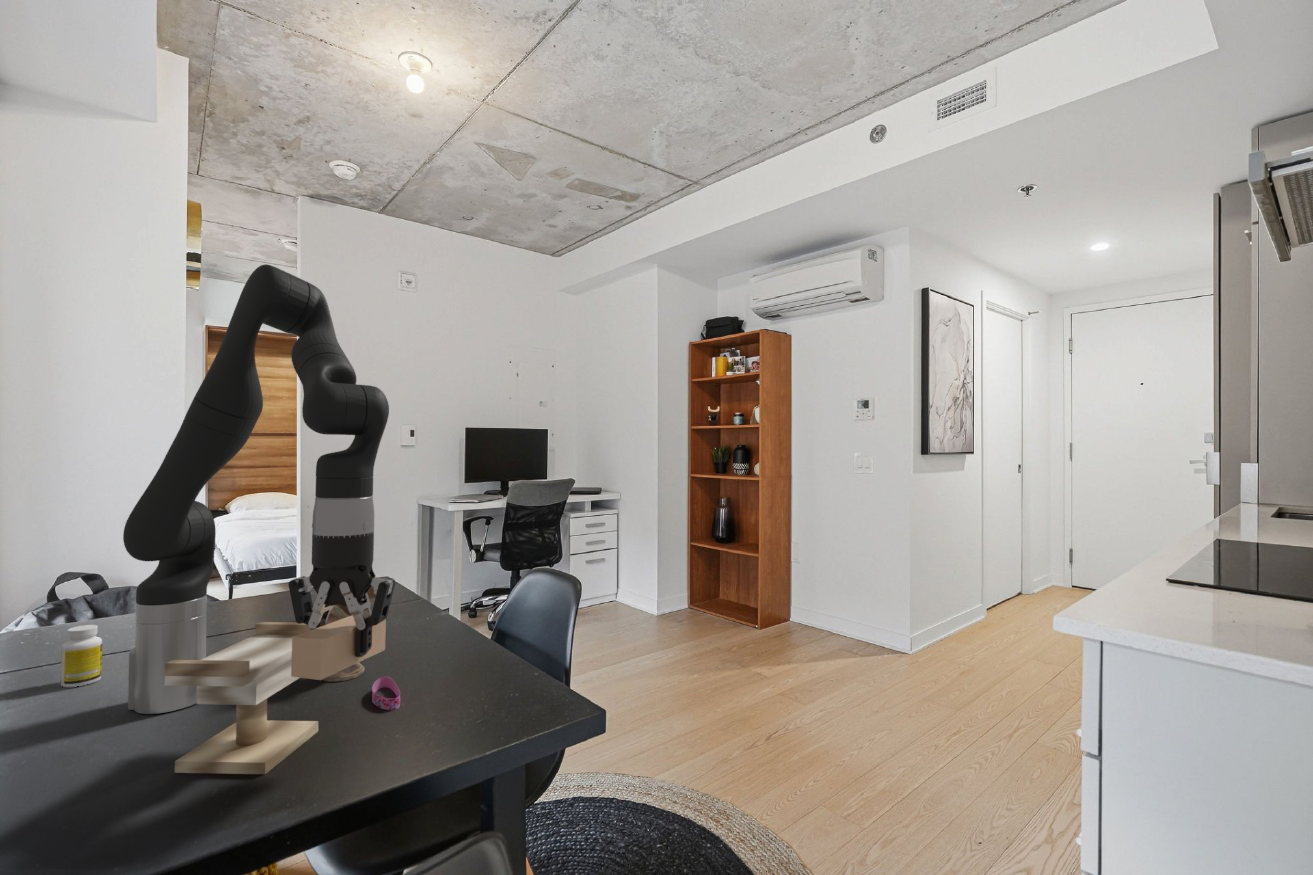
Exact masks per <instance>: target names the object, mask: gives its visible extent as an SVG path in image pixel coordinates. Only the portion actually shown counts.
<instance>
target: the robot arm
mask: <svg viewBox="0 0 1313 875" xmlns="http://www.w3.org/2000/svg"><path fill="white" fill-rule="evenodd" d="M262 325H266V326H269V327H271V328H274V329H276V330H278V331H280V332H284V333H286V334H289V335H290V334H291V335H293V336H297V337H298V339H296V341H295V342H294V344H293V346H292V349H291V362H292V366H293V368H294V371H295V374H297V377H298V379H299V381H300V383H301V385H302V392H303V401H302V410H301V413H302V419H303V422H304V423H305V425H306V426H307V427H308V428H309V429H310V430H312V431H313V432H315V433H317V434H321V435H332V436H333V435H334V436H335V435H337V436H338V435H339V436H341V435H343V436H354V437H353V440H352V442H351V443H350V445H349V446H348V447H347V448H345V449H343V450H339V451H335V452H334V451H333V452H328V453H325V454H323V455H321V456H319V457H318V458H317V461H316V465H315V498H314V506H313V510H312V525H311V528H312V529H311V530H312V531H311V536H312V537H311V566H312V567H313V568H312V571H311V573H310V574H309V575H308V576H304V575H303V576H302V575H301V576H299V577H297V578H293V579H291V580H289V582H288V589H289V594H290V600H291V604H292V610H293V614H294V615H293V616H294V620H295V622H297V623H298V624H301V623H304V624H306V625H308V626H309V627H310V629H311V630H313V629H315V628H318V627H321V626H324V625H325V623H326V621H327V619H328V617H329V614H330V612H331V610H332V608H333V607H334V606H335V605H337V604H339V605H342V606H347V607H348V610H349V613H350V614H351V615H353V617H354V620H355V623H356V626H357V628H358V629H357V630H355V657H362V656H364V655H365V654H367V652H368V651H369V650H370V649H371V646H372V627H373V626H374V625H377V624H379V623H380V622H382V621H384V620H385V619H387V618H388V614H389V609H390V606H391V602H392V599H393V598H392V597H393V594H394V590H395V586H396V580H395V578H393V577H391V578H388V579H385V578H381V577H376V573H375V572H374V570H373V565H374V564H373V563H374V545H375V544H374V543H375V506H374V496H373V495H374V467H375V463H376V459H377V454H378V452H379V448H380V444H381V441H382V437H383V435H384V432H385V429H386V426H387V423H388V419H389V413H390V405H389V401H388V399H387V397H386V394H385V393H384V391H382V389H381V388H379V387H377V386H375V385H367V384H357V373H356V371H355V369H354V367H353V365H352V363H351V362H350V360H349V359H348V357H347V355H346V354H345V352H344V350H343V349H342V347H341V346H340V343H339V341H338V339H337V335H336V332H335V328H334V322H333V320H332V316H331V311H330V308H329V304H328V300H327V299H326V296H325V295H324V293H323V292H322V290H321V289H320V288H319V287H317V286H316V285H314V284H313V283H311V282H308V281H307V280H304V279H302V278H300V277H298V276H296V275H293V274H292V273H289V272H288V271H285V270H283V269H280V268H278V267H276V266H274V265H270V264H260V265H259V266H257V268H255V269H254V271H253V272H251V274H250V275H249V277H248V278H247V281H246V282H245V283H244V286H243V288H242V290H241V293H240V296H239V297H238V300H237V303H236V305H235V308H234V310H233V313H232V315H231V318H230V321H229V323H228V326H227V329H226V331H225V334H224V336H223V339H222V342H221V344H220V347H219V348H218V350H217V353H216V355H215V356H214V358H213V361H212V363H211V365H210V367H209V369H208V370H207V372H206V374H205V377H204V378H203V381H202V382H201V384H200V386H199V388H198V390H197V391H196V393H195V395H194V397H193V399H192V400H191V403H190V405H189V407H188V409H187V411H186V413H185V416H184V419H183V421H182V422H181V425H180V428H179V429H178V431H177V434H176V436H175V437H174V438H173V441H172V443H171V444H170V447H169V448H168V451H167V452H166V454H165V457H164V458H163V460H162V463H161V464H160V466H159V467H158V469H157V471H156V473H155V475H154V476H153V478H152V480H151V481H150V483H149V484H148V485H147V487H146V489H145V490H144V492H143V493H142V494H141V496H140V498H139V499H138V501H137V502H136V504H135V506H134V507H133V508H132V511H131V512H130V514H129V516H128V518H127V520H126V522H125V526H124V528H123V533H122V534H123V535H122V540H123V544H124V549H125V550H126V552H127V553H128V554H129V555H130V556H131V558H133V559H134V560H138V561H141V562H158V565H157V566H156V568H155V569H154V571H153V572H152V573H151V574H150V575H149V576H147V578H145V579H144V580H143V581H142V582H140V583H139V584H138V585H137V587H136V590H135V591H136V593H135V638H134V639H135V647H133V648H131V649H130V650H129V651H128V678H127V679H128V685H127V686H128V688H127V689H128V690H127V692H128V693H127V694H128V696H127V697H128V698H127V709H128V710H131V711H132V710H133V711H134V712H135V713H138V714H141V715H142V714H143V715H154V714H163V713H168V712H174V711H177V710H178V711H179V710H182V709H184V708H185V709H186V708H189V707H190V706H193V705H196V704H197V686H165V663H166V662H169V661H171V660H201V659H203V658H205V657H207V604H208V603H207V602H208V600H207V597H208V596H207V595H208V594H207V593H208V585H209V582H210V580H211V579H212V577H213V571H214V562H215V550H216V549H215V548H216V533H217V532H216V522H215V518H214V516H213V512H212V511H211V509H210V508H208V506H207V505H205V504H204V503H202V502H199V501H197V500H196V499H197V497H198V496H199V494H200V492H201V491H202V490H203V488H204V487H205V486H206V484H207V483H208V482H209V481H210V479H212V478H213V477H214V476H215V475H216V474H217V473H219V471H220V470H221V469H223V467H225V466H226V465H227V464H228V463H229V462H230V461H231V460H233V458H234V457H235V456H236V455H237V454H238V453H239V452H240V451H241V450H242V449H243V448H244V446H245V445H246V443H247V442H248V440H249V438H250V436H251V434H252V432H253V430H254V428H255V427H256V425H257V422H258V420H259V418H260V416H261V414H262V412H263V407H264V398H263V391H262V387H261V383H260V382H261V381H260V377H259V374H258V370H257V369H258V368H257V364H256V353H255V351H256V344H257V338H258V335H259V333H260V330H261V327H262ZM371 586H373V588H374V594H375V595H376V598H375V599H374V602H373V606H371V605H372V603H371V601H370V600H369V597H368V594H367V591H368V590H369V589H370V587H371ZM312 588H313V589H314V591H315V592H316V594H317V596H316V599H315V601H314V603H313V599H312V594H311V591H312ZM358 602H359V604H358ZM371 607H372V609H371Z"/></svg>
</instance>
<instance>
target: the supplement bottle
mask: <svg viewBox="0 0 1313 875" xmlns="http://www.w3.org/2000/svg"><path fill="white" fill-rule="evenodd" d="M98 632H99V631H98V625H96V624H85V625H78V626H74V627H70V628H68V629H67V631H66V633H67V634H66V638H67V639H68V640H67V641H65V642H64V643H62V645H61V650H60V651H61V653H60V654H61V655H60V686H61V687H62V686H63V687H62V688H78V687H77V686H79V687H83V685H84V686H87V684H88V685H91V684H94V683H97V682H99V681H100V680H101V679H102V677H103V676H102V674H103V673H102V672H103V670H102V669H103V639H102V638H101V637H99V636H97V634H98Z"/></svg>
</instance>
